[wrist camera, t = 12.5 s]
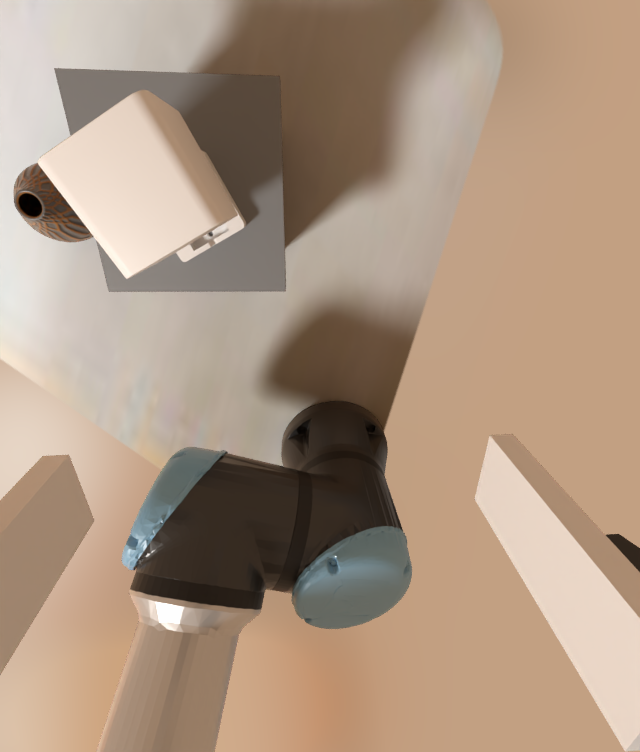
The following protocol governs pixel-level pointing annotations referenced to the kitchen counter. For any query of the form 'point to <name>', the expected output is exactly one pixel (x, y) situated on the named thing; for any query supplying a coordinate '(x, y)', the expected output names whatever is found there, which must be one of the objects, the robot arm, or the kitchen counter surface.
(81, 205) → the security camera
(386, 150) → the kitchen counter surface
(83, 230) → the vase
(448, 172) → the kitchen counter surface
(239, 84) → the grey flat-topped box
